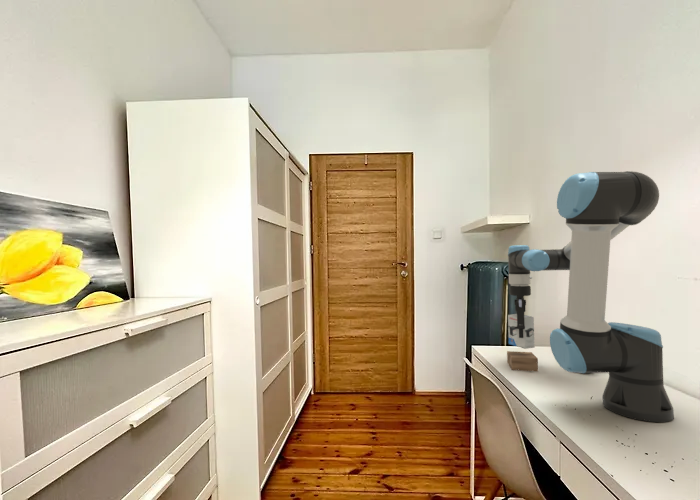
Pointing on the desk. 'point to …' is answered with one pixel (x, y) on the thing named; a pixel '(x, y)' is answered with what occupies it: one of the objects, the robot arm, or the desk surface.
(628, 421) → the desk surface
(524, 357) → the base block
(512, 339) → the ink box
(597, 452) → the desk surface
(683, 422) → the desk surface
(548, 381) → the desk surface
